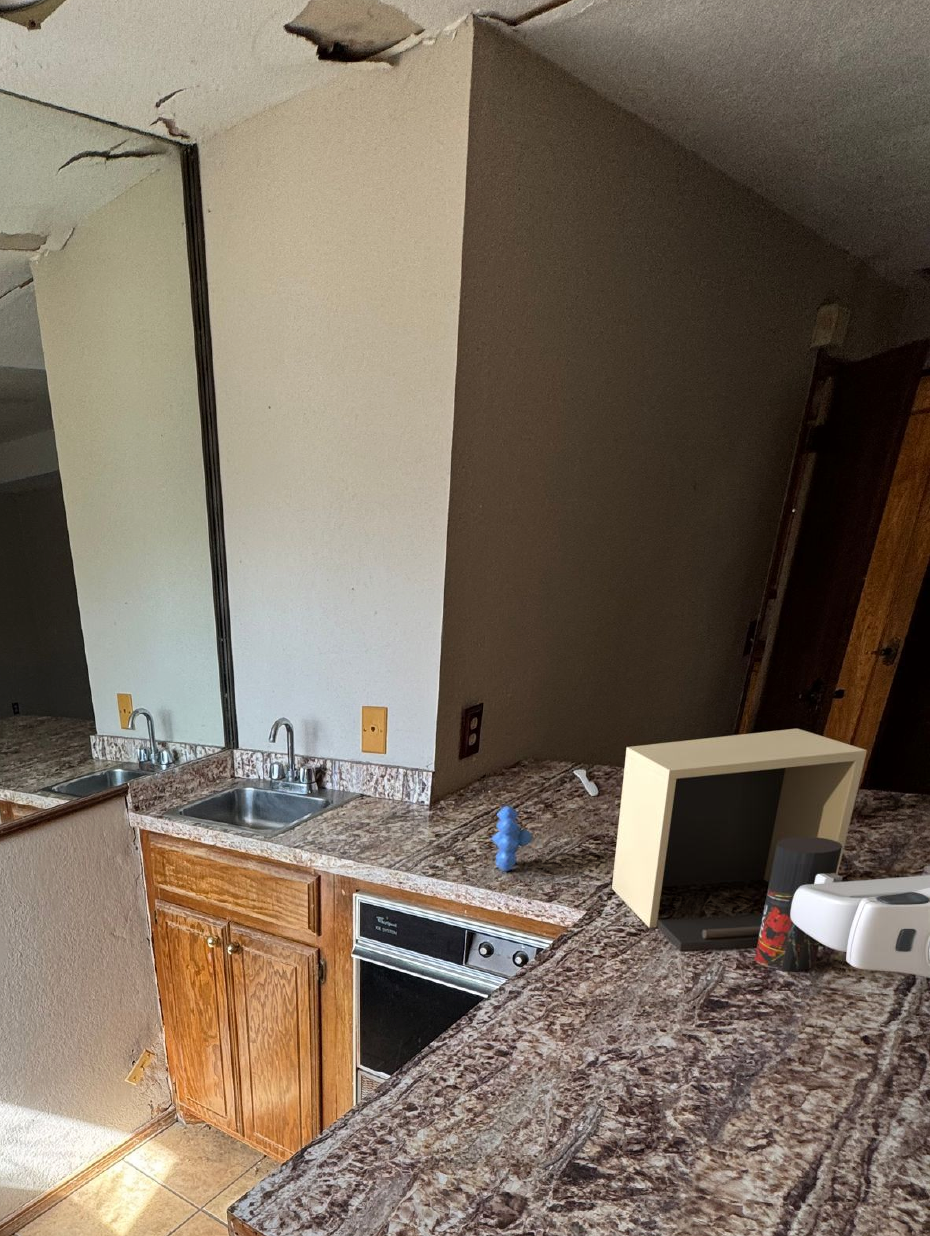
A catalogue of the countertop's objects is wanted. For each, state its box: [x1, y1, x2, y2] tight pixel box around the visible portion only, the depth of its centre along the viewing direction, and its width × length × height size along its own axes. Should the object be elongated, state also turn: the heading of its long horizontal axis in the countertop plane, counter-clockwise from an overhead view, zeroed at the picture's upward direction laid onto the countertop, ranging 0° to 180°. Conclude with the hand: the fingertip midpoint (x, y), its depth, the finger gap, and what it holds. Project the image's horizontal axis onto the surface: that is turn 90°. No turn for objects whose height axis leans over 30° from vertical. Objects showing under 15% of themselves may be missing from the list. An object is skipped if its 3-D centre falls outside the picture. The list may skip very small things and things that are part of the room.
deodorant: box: [754, 837, 842, 973], centre depth 93 cm, size 6×6×15 cm
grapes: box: [491, 805, 535, 872], centre depth 134 cm, size 12×7×12 cm, turn 161°
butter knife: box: [573, 769, 599, 797], centre depth 178 cm, size 1×24×3 cm
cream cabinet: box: [611, 728, 868, 952], centre depth 106 cm, size 22×24×22 cm
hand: (875, 876), depth 79 cm, fingers open, 8 cm apart
